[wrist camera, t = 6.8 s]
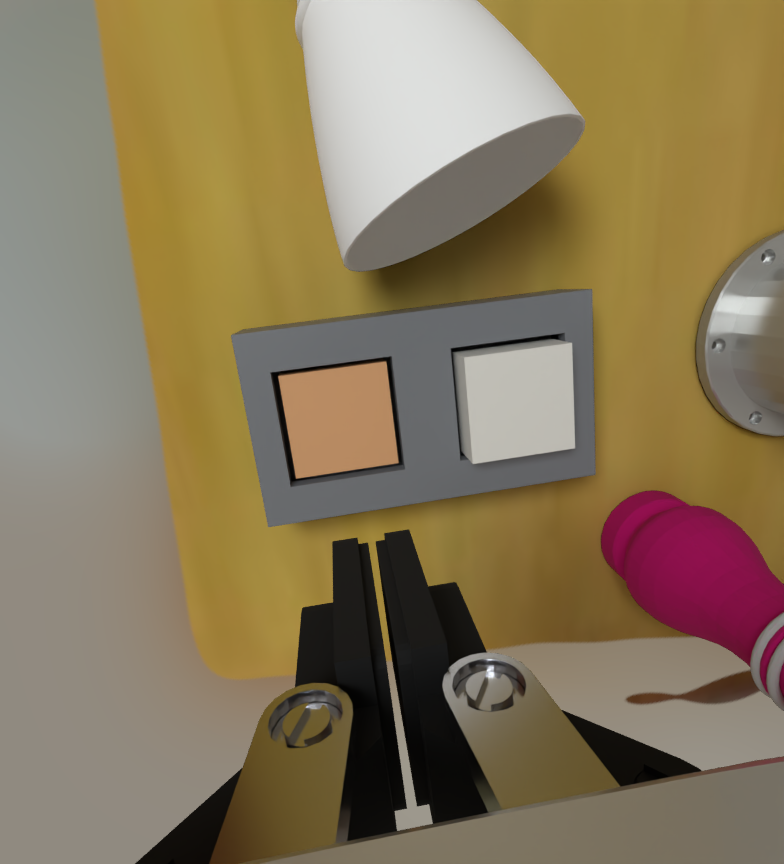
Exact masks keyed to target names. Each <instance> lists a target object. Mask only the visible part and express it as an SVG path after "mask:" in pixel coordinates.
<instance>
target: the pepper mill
mask: <svg viewBox="0 0 784 864" xmlns="http://www.w3.org/2000/svg"><path fill="white" fill-rule="evenodd" d="M601 546H602V552H603V555H604V557H605V559H606V561H607V563H608V564H609V565H610V566H611V567H612V568H613V569H614V570H615V571H616V572H617V573H618V574H619V575H620V576H621V577H622V578H623V579H624V580H625V581H626V584H627V587H628V589H629V591H630V593H631V595H632V597H633V598H634V599H635V601H636V602H637V604H639V605H640V606H641V607H642V608H643V609H644V610H645V611H646V612H648V613H649V614H650V615H651V616H653V617H654V618H655V619H657V620H658V621H660V622H662V623H664V624H666V625H668V626H670V627H672V628H674V629H676V630H678V631H680V632H683V633H686V634H690V635H693V636H696V637H699V638H702V639H706V640H708V641H711V642H714V643H717V644H719V645H721V646H723V647H725V648H727V649H728V650H730V651H731V652H733V653H734V654H735V655H737V656H738V657H739V658H741V659H742V660H743V661H745V662H746V663H747V664H748V665H749V666H750V668H751V674H752V677H753V680H754V682H755V684H756V685H757V687H758V688H759V689H760V691H761V692H763V693H764V694H765V695H767V696H768V697H770V698H772V700H773V702H774V703H775V704H776V705H777V706H778V707H779V708H781V709H782V710H783V711H784V584H782V583H781V582H780V581H779V580H778V579H777V578H776V577H775V575H774V574H773V573H772V572H771V571H770V569H769V568H768V566H767V564H766V562H765V560H764V558H763V556H762V555H761V553H760V551H759V550H758V548H757V546H756V545H755V544H754V542H753V541H752V540H751V538H750V537H749V536H748V535H747V534H746V533H745V532H744V531H743V529H742V528H741V527H739V526H738V525H737V524H736V523H734V522H733V521H731V520H730V519H728V518H727V517H725V516H724V515H723V514H721V513H719V512H717V511H715V510H712V509H710V508H706V507H701V506H690V505H688V504H686V503H685V502H683V501H681V500H680V499H678V498H676V497H675V496H673V495H671V494H668V493H666V492H662V491H645V492H641V493H638V494H635V495H633V496H631V497H629V498H627V499H626V500H624V501H623V502H621V503H620V504H619V505H618V506H617V507H616V508H615V509H614V510H613V511H612V512H611V514H610V516H609V517H608V519H607V521H606V522H605V524H604V528H603V532H602V536H601Z"/></svg>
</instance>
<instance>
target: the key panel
mask: <svg viewBox="0 0 784 864" xmlns="http://www.w3.org/2000/svg"><path fill="white" fill-rule="evenodd" d="M231 338H232V343H233V348H234V353H235V358H236V363H237V369H238V374H239V379H240V384H241V389H242V394H243V399H244V404H245V410H246V415H247V420H248V425H249V430H250V435H251V440H252V445H253V451H254V456H255V461H256V466H257V471H258V476H259V481H260V487H261V492H262V497H263V502H264V507H265V512H266V517H267V522H268V527H272V526H279V525H285V524H291V523H297V522H303V521H310V520H316V519H322V518H328V517H335V516H341V515H347V514H353V513H360V512H366V511H372V510H378V509H385V508H391V507H397V506H403V505H410V504H416V503H422V502H428V501H434V500H441V499H447V498H453V497H459V496H466V495H472V494H478V493H484V492H491V491H497V490H503V489H509V488H516V487H522V486H528V485H534V484H541V483H547V482H553V481H559V480H566V479H572V478H578V477H584V476H590V475H595V422H594V367H593V313H592V289H558V290H550V291H542V292H534V293H527V294H519V295H511V296H503V297H495V298H487V299H479V300H471V301H463V302H456V303H448V304H440V305H432V306H424V307H416V308H408V309H400V310H393V311H385V312H377V313H369V314H361V315H353V316H345V317H337V318H329V319H322V320H314V321H306V322H298V323H290V324H282V325H274V326H266V327H258V328H251V329H243V330H241V331H239V332H237V333H235V334H232V335H231ZM546 339H556V340H561V341H565V342H570V343H572V355H573V391H574V426H575V448H574V449H567V450H561V451H554V452H548V453H541V454H535V455H529V456H522V457H516V458H509V459H503V460H496V461H490V462H483V463H477V464H472V463H471V461H470V460H469V459H468V458H467V457H466V456H465V455H464V453H463V452H462V451H461V445H460V433H459V422H458V410H457V399H456V388H455V376H454V365H453V353H452V352H457V351H465V350H472V349H480V348H487V347H494V346H502V345H509V344H517V343H524V342H531V341H539V340H546ZM374 358H383V359H384V360H385V361H386V363H387V372H388V380H389V388H390V397H391V405H392V413H393V421H394V430H395V438H396V446H397V455H398V463H395V464H389V465H382V466H376V467H369V468H363V469H356V470H349V471H343V472H336V473H330V474H323V475H317V476H310V477H304V478H297V479H296V475H295V469H294V463H293V458H292V452H291V446H290V441H289V435H288V429H287V424H286V418H285V412H284V406H283V401H282V395H281V389H280V384H279V378H278V376H279V374H280V372H281V371H285V370H292V369H300V368H307V367H315V366H322V365H330V364H337V363H345V362H352V361H359V360H367V359H374Z"/></svg>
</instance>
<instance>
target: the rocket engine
mask: <svg viewBox="0 0 784 864" xmlns="http://www.w3.org/2000/svg"><path fill="white" fill-rule="evenodd" d="M297 6H298V8H297V13H296V19H295V29H296V35H297V38H298V41H299V43H300V45H301V47H302V48H303V52H304V62H305V71H306V80H307V88H308V96H309V103H310V110H311V117H312V123H313V130H314V136H315V142H316V148H317V153H318V159H319V164H320V169H321V174H322V179H323V184H324V189H325V194H326V199H327V203H328V208H329V212H330V216H331V220H332V224H333V228H334V232H335V236H336V239H337V243H338V246H339V250H340V253H341V256H342V260H343V263H344V266H345V267H347V268H348V269H349V270H352V271H358V272H360V271H371V270H375V269H380V268H384V267H387V266H390V265H393V264H396V263H399V262H402V261H404V260H407V259H409V258H412V257H414V256H417V255H419V254H421V253H423V252H426V251H428V250H430V249H432V248H434V247H436V246H438V245H440V244H442V243H444V242H446V241H448V240H450V239H452V238H454V237H455V236H457V235H459V234H461V233H463V232H464V231H466V230H468V229H470V228H471V227H473V226H475V225H476V224H478V223H480V222H481V221H483V220H485V219H486V218H488V217H489V216H491V215H492V214H494V213H495V212H497V211H498V210H500V209H502V208H503V207H505V206H506V205H507V204H509V203H510V202H512V201H513V200H514V199H516V198H517V197H519V196H520V195H521V194H523V193H524V192H525V191H527V190H528V189H529V188H531V187H532V186H533V185H534V184H536V183H537V182H538V181H539V180H541V179H542V178H543V177H544V176H545V175H546V174H548V173H549V172H550V171H551V170H552V169H553V168H554V167H555V166H557V165H558V164H559V162H560V161H561V160H562V159H563V158H564V157H565V156H566V155H567V154H568V153H569V152H570V151H571V150H572V148H573V147H574V146H575V145H576V143H577V142H578V141H579V139H580V137H581V135H582V133H583V131H584V127H585V120H584V118H583V117H582V116H581V114H580V113H579V112H578V110H577V109H576V108H575V106H574V105H573V104H572V102H571V101H570V100H569V98H568V97H567V96H566V95H565V93H564V92H563V91H562V90H561V89H560V87H559V86H558V85H557V84H556V82H555V81H554V80H553V79H552V78H551V76H550V75H549V74H548V73H547V72H546V71H545V69H544V68H543V67H542V66H541V65H540V64H539V63H538V61H537V60H536V59H535V58H534V57H533V56H532V55H531V54H530V53H529V52H528V51H527V49H526V48H525V47H524V46H523V45H522V44H521V43H520V42H519V41H518V40H517V39H516V38H515V37H514V36H513V35H512V34H511V33H510V32H509V31H508V30H507V29H506V28H505V27H504V26H503V25H502V24H501V23H500V22H499V21H498V20H497V19H496V18H495V17H494V16H493V15H492V14H491V13H490V12H489V11H488V10H487V9H485V8H484V7H483V6H482V5H481V4H480V3H479V2H478V1H477V0H297Z"/></svg>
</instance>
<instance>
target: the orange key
mask: <svg viewBox="0 0 784 864" xmlns="http://www.w3.org/2000/svg"><path fill="white" fill-rule="evenodd" d="M278 378H279V384H280V389H281V395H282V401H283V406H284V412H285V418H286V424H287V429H288V435H289V441H290V446H291V452H292V458H293V463H294V469H295V475H296V479H297V478H304V477H310V476H317V475H323V474H330V473H336V472H343V471H349V470H356V469H363V468H369V467H376V466H382V465H389V464H395V463H398V455H397V446H396V438H395V430H394V421H393V413H392V405H391V397H390V388H389V380H388V372H387V363H386V361H385V360H384V359H383V358H374V359H367V360H359V361H352V362H345V363H337V364H330V365H322V366H315V367H307V368H300V369H292V370H285V371H281V372H280V374H279V376H278Z"/></svg>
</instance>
